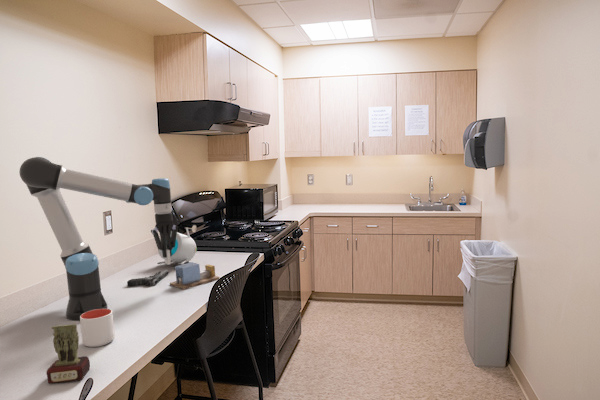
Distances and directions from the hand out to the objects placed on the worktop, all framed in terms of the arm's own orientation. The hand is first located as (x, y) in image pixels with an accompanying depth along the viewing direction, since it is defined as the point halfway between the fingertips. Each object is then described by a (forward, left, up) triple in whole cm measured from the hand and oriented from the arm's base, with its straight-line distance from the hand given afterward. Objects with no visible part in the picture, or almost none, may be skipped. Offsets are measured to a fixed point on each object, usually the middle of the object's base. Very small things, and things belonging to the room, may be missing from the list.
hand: (167, 263), depth 214 cm
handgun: (+2, +22, -13) cm, 25 cm away
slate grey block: (+10, 0, -11) cm, 15 cm away
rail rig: (+13, 0, -12) cm, 18 cm away
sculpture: (-63, -52, -12) cm, 82 cm away
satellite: (+28, +39, -12) cm, 49 cm away
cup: (-47, -34, -12) cm, 59 cm away
